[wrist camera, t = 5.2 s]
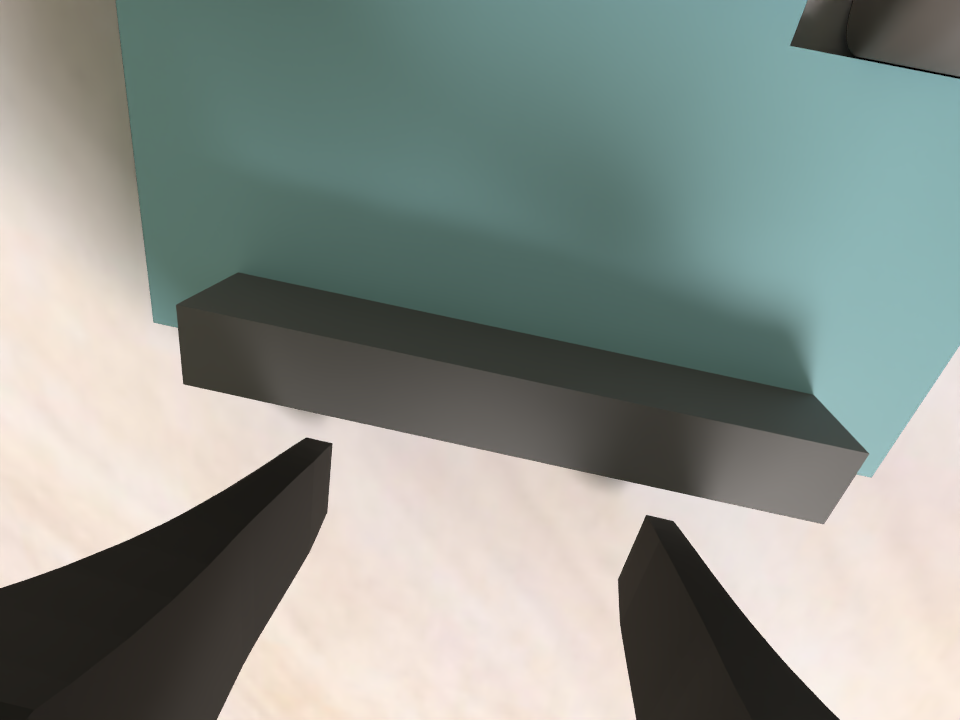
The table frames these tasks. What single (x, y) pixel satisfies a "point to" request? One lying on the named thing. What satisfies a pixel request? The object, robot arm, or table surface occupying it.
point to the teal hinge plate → (555, 229)
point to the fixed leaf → (907, 33)
